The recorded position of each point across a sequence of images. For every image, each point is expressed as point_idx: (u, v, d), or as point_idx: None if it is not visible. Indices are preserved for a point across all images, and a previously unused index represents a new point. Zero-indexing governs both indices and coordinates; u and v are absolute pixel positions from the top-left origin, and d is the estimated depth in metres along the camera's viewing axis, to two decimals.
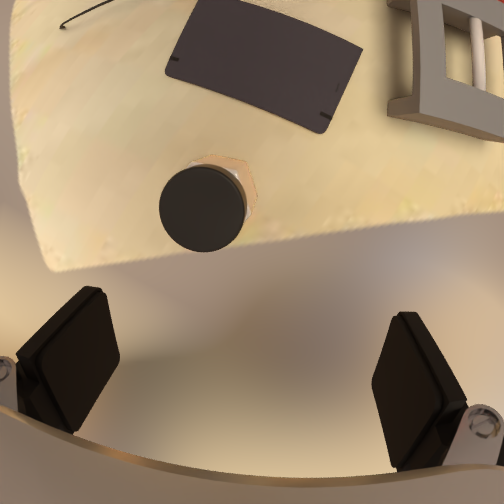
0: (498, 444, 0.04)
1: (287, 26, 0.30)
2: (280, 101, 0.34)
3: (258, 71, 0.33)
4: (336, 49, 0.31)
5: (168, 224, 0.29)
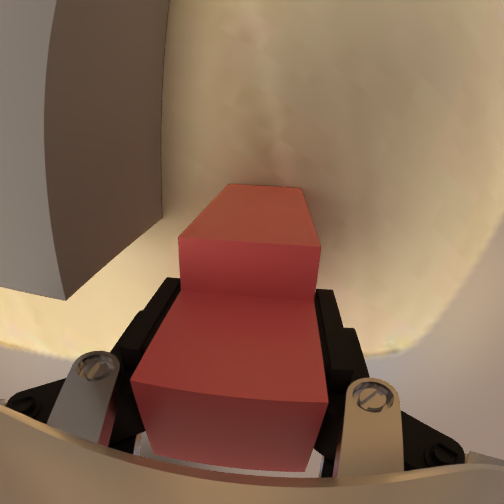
0: (397, 412, 0.05)
1: None
2: None
3: None
4: None
5: None
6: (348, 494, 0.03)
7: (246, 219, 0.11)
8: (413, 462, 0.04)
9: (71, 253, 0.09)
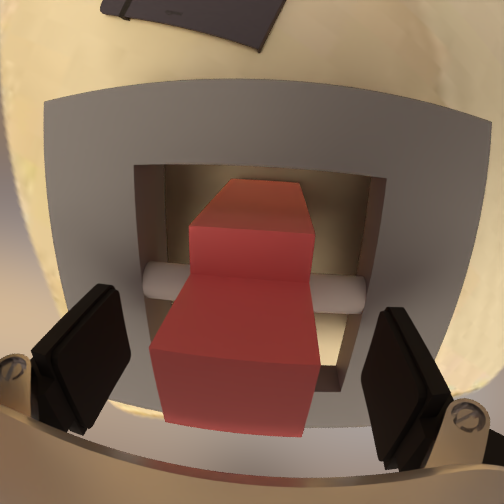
0: (484, 438, 0.04)
1: None
2: None
3: None
4: (249, 4, 0.15)
5: None
6: (348, 494, 0.03)
7: (249, 210, 0.12)
8: (500, 463, 0.04)
9: None
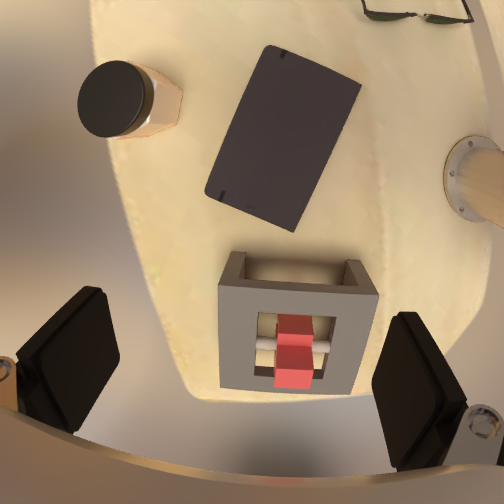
0: (498, 445, 0.04)
1: (314, 162, 0.37)
2: (232, 154, 0.38)
3: (263, 133, 0.37)
4: (290, 207, 0.40)
5: (98, 71, 0.25)
6: (348, 494, 0.03)
7: (293, 323, 0.36)
8: None
9: None
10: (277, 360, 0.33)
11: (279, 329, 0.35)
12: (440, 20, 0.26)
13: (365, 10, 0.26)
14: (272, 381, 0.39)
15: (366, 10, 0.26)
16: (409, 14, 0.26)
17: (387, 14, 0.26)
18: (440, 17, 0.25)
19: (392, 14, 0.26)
